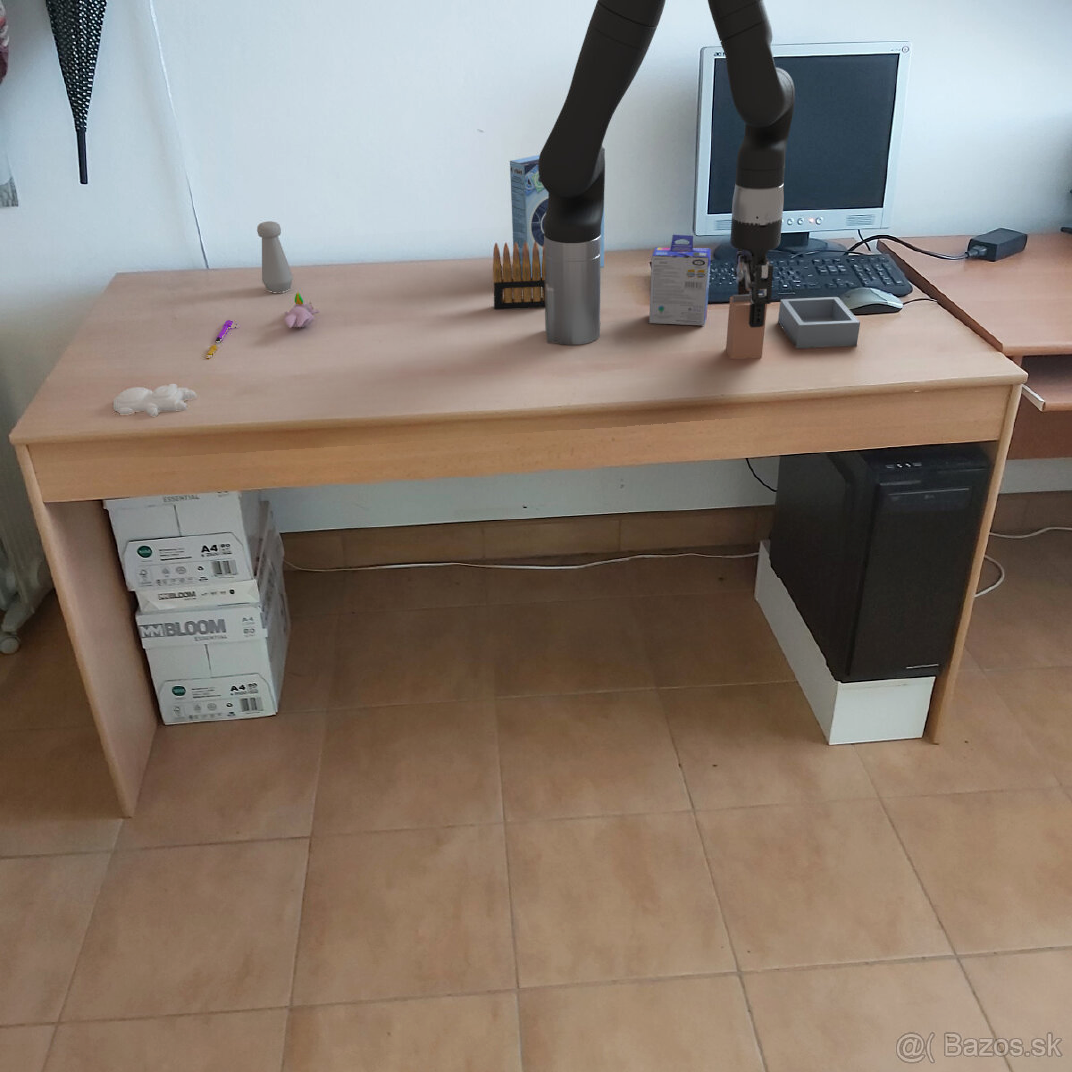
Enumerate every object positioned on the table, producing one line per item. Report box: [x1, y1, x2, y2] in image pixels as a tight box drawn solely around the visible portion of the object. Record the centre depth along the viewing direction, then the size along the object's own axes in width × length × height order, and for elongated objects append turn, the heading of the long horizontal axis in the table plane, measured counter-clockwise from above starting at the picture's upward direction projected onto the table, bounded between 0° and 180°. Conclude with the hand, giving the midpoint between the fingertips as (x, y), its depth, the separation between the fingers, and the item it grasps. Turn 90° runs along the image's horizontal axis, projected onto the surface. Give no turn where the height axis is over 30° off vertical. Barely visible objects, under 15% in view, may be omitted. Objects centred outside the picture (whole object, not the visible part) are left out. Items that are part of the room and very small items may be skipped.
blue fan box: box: [509, 147, 606, 278], centre depth 193 cm, size 20×5×23 cm, turn 127°
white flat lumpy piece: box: [112, 383, 197, 416], centre depth 154 cm, size 9×12×3 cm
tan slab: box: [725, 293, 768, 360], centre depth 161 cm, size 5×4×10 cm
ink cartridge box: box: [648, 234, 712, 326], centre depth 173 cm, size 10×6×14 cm, turn 78°
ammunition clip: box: [492, 241, 545, 311], centre depth 182 cm, size 11×2×12 cm, turn 93°
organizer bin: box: [777, 296, 861, 349], centre depth 169 cm, size 10×12×4 cm
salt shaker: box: [256, 220, 294, 292], centre depth 192 cm, size 6×6×13 cm
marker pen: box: [205, 319, 234, 359], centre depth 175 cm, size 3×1×16 cm
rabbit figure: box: [283, 292, 320, 328], centre depth 179 cm, size 6×6×15 cm
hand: (749, 316), depth 161 cm, fingers open, 8 cm apart
